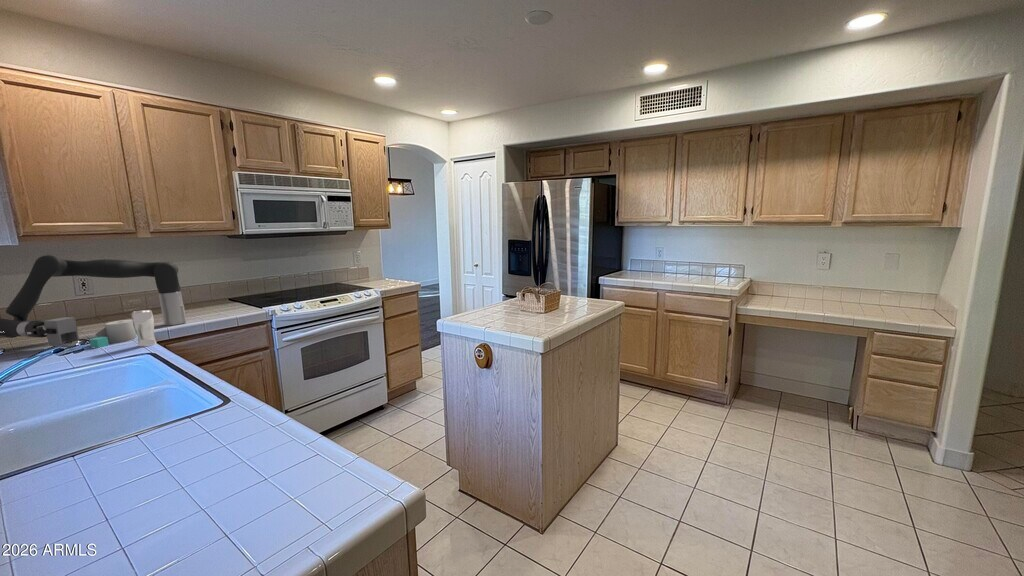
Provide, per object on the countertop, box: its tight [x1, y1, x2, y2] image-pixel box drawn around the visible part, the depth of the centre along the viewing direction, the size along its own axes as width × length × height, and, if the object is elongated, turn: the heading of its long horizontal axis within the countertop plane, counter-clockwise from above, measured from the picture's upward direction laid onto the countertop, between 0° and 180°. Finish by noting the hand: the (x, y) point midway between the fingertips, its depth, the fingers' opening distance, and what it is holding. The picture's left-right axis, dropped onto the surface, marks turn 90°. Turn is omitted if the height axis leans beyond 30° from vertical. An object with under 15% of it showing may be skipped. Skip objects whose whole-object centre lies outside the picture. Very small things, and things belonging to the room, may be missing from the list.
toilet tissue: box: [94, 319, 137, 344], centre depth 189 cm, size 9×13×9 cm
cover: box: [44, 316, 80, 347], centre depth 179 cm, size 7×7×11 cm
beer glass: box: [131, 309, 157, 348], centre depth 180 cm, size 7×7×15 cm
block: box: [89, 336, 110, 349], centre depth 180 cm, size 4×4×4 cm
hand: (65, 329), depth 178 cm, fingers closed on cover, 6 cm apart
